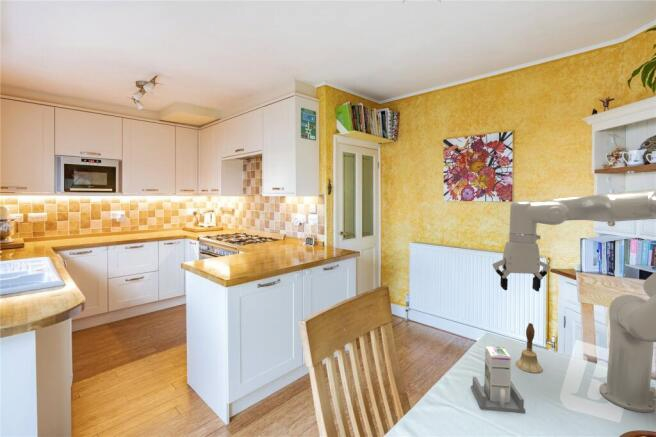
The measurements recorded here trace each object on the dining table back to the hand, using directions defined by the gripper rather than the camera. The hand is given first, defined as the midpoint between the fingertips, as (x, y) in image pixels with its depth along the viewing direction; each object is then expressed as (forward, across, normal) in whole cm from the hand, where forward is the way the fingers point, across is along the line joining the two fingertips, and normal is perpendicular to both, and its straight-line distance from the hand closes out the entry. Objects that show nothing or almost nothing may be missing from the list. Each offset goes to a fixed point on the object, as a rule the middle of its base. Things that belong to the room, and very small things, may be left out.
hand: (519, 289), depth 107 cm
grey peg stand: (+30, +11, +14) cm, 35 cm away
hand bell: (+31, -7, -7) cm, 32 cm away
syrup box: (+30, +11, +14) cm, 34 cm away
